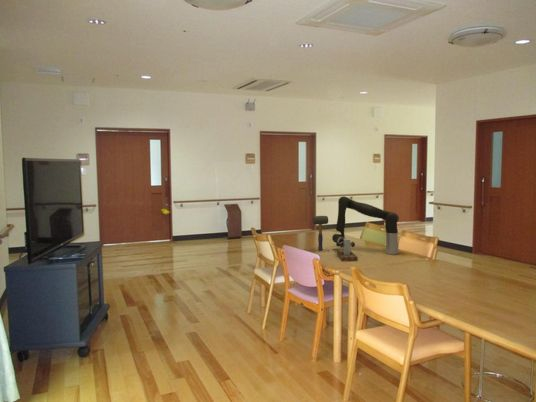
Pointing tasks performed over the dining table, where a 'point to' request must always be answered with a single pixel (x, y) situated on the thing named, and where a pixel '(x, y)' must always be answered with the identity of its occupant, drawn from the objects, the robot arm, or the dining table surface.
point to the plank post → (346, 246)
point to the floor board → (347, 256)
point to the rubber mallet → (320, 228)
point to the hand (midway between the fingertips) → (347, 245)
